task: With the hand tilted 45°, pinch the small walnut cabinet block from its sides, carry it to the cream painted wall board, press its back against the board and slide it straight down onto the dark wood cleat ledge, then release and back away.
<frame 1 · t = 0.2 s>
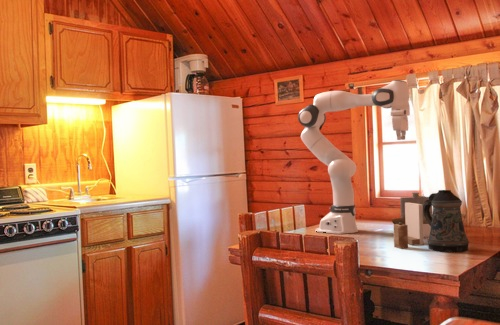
hand: (401, 139, 252), 48 cm above the table, tool pointing down, fingers open, 8 cm apart
beer stein: (444, 249, 214), on the table
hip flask: (416, 230, 264), on the table
cabinet block: (401, 247, 220), on the table
wall board: (414, 242, 230), on the table
wood carving: (428, 235, 248), on the table
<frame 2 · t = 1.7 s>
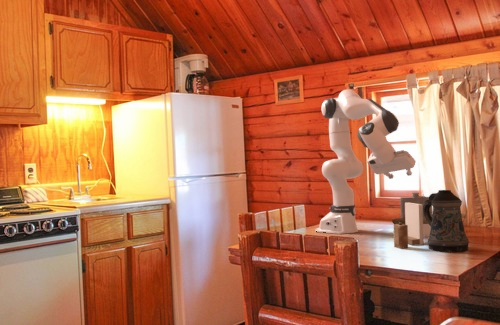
hand: (400, 176, 224), 31 cm above the table, tool tilted 45°, fingers open, 8 cm apart
nothing on the table moved.
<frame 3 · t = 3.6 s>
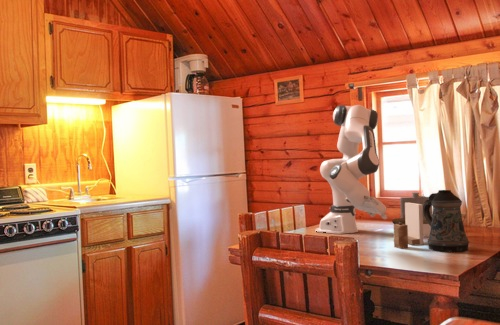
hand: (379, 216, 216), 14 cm above the table, tool tilted 45°, fingers open, 8 cm apart
nothing on the table moved.
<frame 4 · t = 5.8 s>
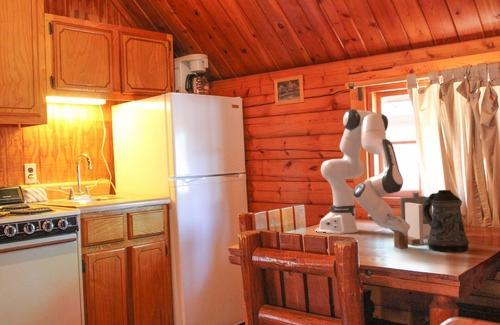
hand: (401, 233, 220), 6 cm above the table, tool tilted 45°, fingers closed on cabinet block, 4 cm apart
cabinet block: (401, 247, 220), on the table, touching gripper
everything else where it was.
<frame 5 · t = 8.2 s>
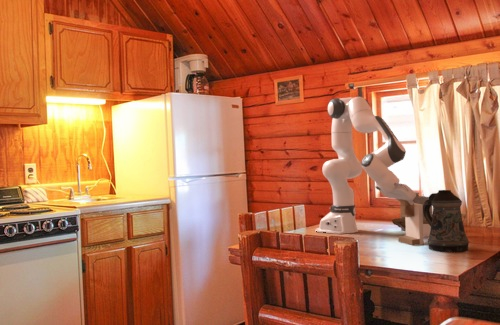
hand: (408, 203, 229), 18 cm above the table, tool tilted 45°, fingers closed on cabinet block, 4 cm apart
cabinet block: (407, 216, 229), point 12 cm above the table, touching gripper
everything else where it was.
when the fingers open (10 cm above the table, at t = 10.7 s): cabinet block drops 1 cm, resting on wall board.
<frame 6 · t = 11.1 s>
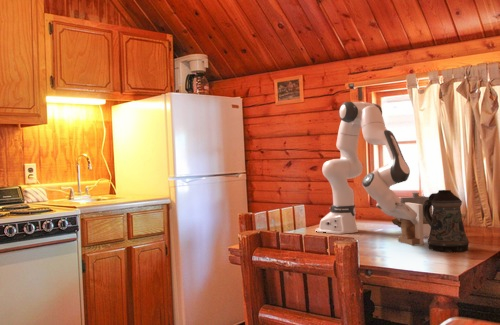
hand: (409, 222, 229), 10 cm above the table, tool tilted 45°, fingers open, 8 cm apart
cabinet block: (408, 237, 229), point 2 cm above the table, touching wall board
everything else where it was.
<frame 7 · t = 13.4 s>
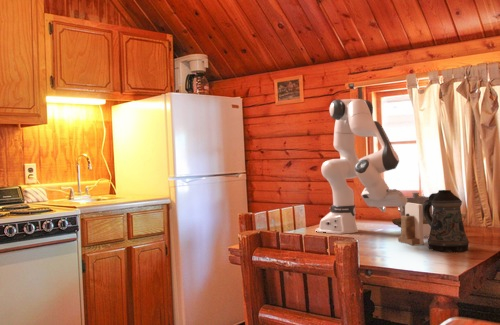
hand: (392, 210, 229), 15 cm above the table, tool tilted 40°, fingers open, 8 cm apart
nothing on the table moved.
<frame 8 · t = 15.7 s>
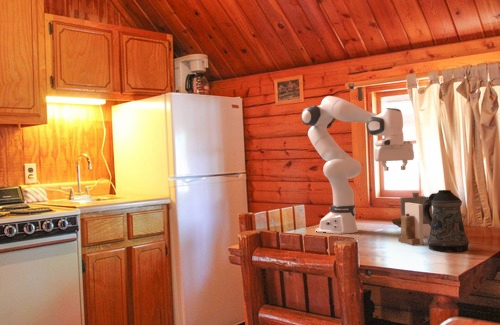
hand: (394, 170, 240), 33 cm above the table, tool pointing down, fingers open, 8 cm apart
nothing on the table moved.
at the end: cabinet block 0.2 cm from the target spot on the wall board, point 2.5 cm above the wall board's base; cabinet block tilted 0°; the gripper is holding nothing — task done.
